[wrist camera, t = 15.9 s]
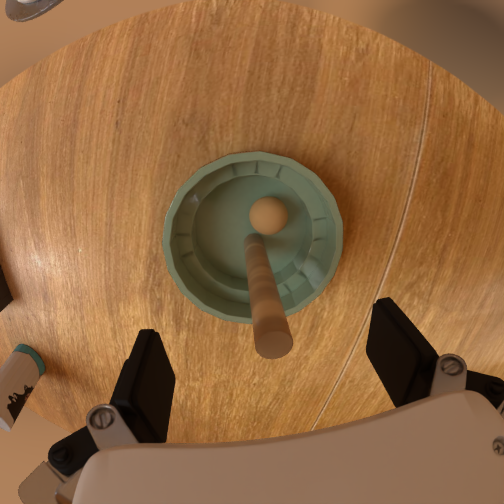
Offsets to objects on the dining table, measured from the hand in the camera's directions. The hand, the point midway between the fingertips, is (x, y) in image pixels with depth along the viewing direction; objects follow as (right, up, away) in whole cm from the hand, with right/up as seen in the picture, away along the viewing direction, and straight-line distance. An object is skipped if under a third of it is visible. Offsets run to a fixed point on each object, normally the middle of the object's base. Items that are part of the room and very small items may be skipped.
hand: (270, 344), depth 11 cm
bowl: (-1, +6, +18) cm, 19 cm away
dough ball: (+1, +7, +15) cm, 17 cm away
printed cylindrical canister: (-40, -15, +24) cm, 49 cm away
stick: (-1, +5, +18) cm, 18 cm away
